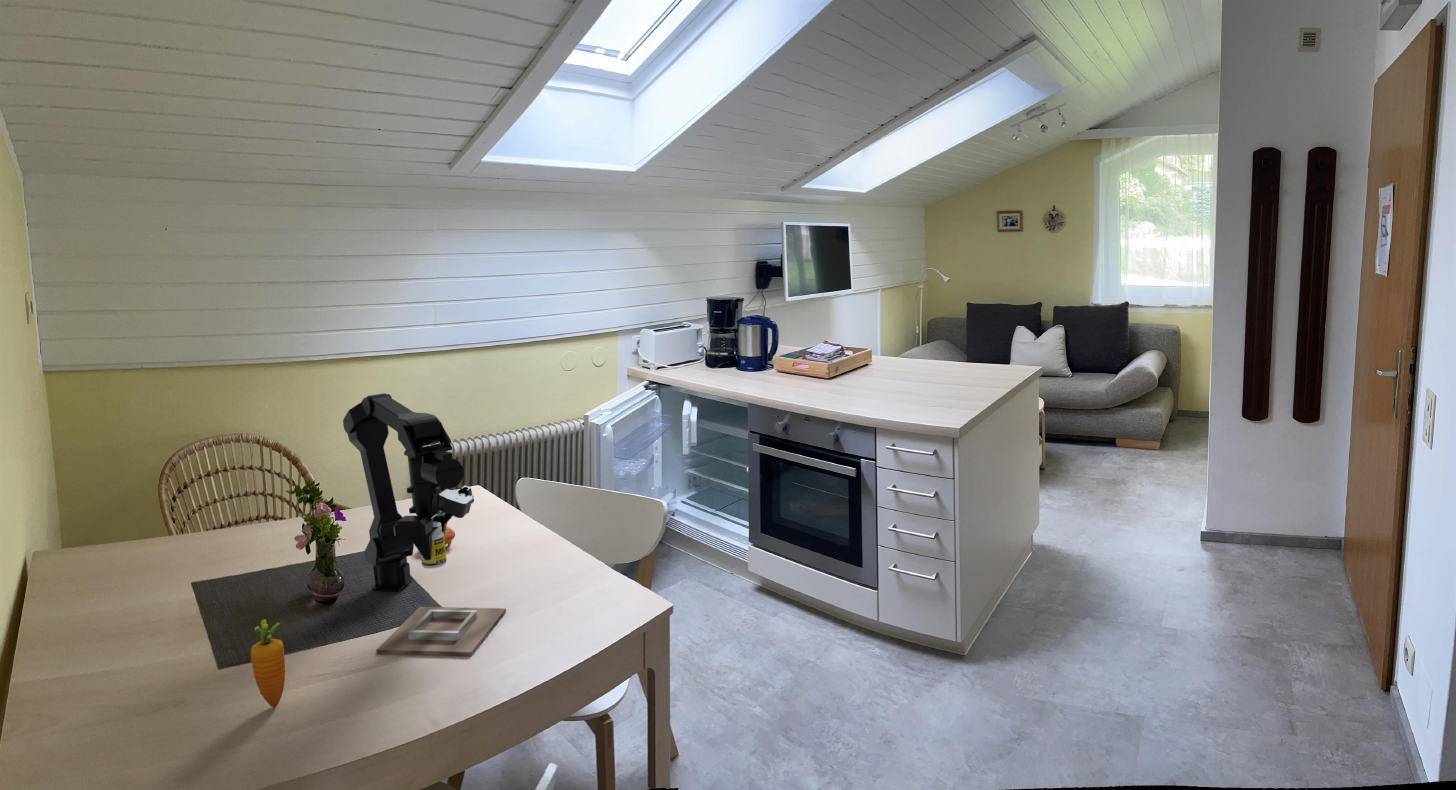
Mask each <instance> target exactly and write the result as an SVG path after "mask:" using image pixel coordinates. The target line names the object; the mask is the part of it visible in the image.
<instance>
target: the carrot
mask: <svg viewBox="0 0 1456 790" xmlns="http://www.w3.org/2000/svg"><path fill="white" fill-rule="evenodd" d="M260 626H261V628H260ZM260 626H259V625H257V626H256V627H254V632H255V634H256V635H257V636H258V638H259V639H260V641H258V642H256V643H255V644H253V645H252V646H251V648H250V660H251V667H252V671H253V676H254V680H255V683H256V685H257V688H258V690H259V692H260V695H261V696H262V698H263V699H264V700H265V702H266V703H267V704H268V705H270V707H273V708H276V707H277V706H278V705H279V703H280V701H281V699H282V697H283V693H284V689H285V681H286V680H285V679H286V678H285V677H286V663H285V661H286V660H285V659H286V658H285V649H284V643H283V641H282V640H281V639H278V638H277V639H276V638H272V636H273V634H274V632H275V630H277V628H278V627H279V626H281V623H280V622H276V623H274V625H272V627H271V629H268V628H269V624H267V619H265V618H264V619H262V620H260Z"/></svg>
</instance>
